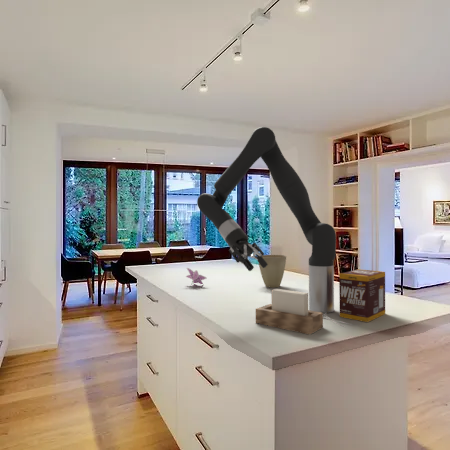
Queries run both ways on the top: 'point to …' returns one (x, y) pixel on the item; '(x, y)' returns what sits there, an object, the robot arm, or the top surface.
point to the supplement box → (362, 294)
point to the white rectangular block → (290, 301)
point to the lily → (195, 276)
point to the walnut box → (290, 320)
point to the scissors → (333, 319)
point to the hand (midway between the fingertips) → (259, 267)
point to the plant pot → (273, 270)
